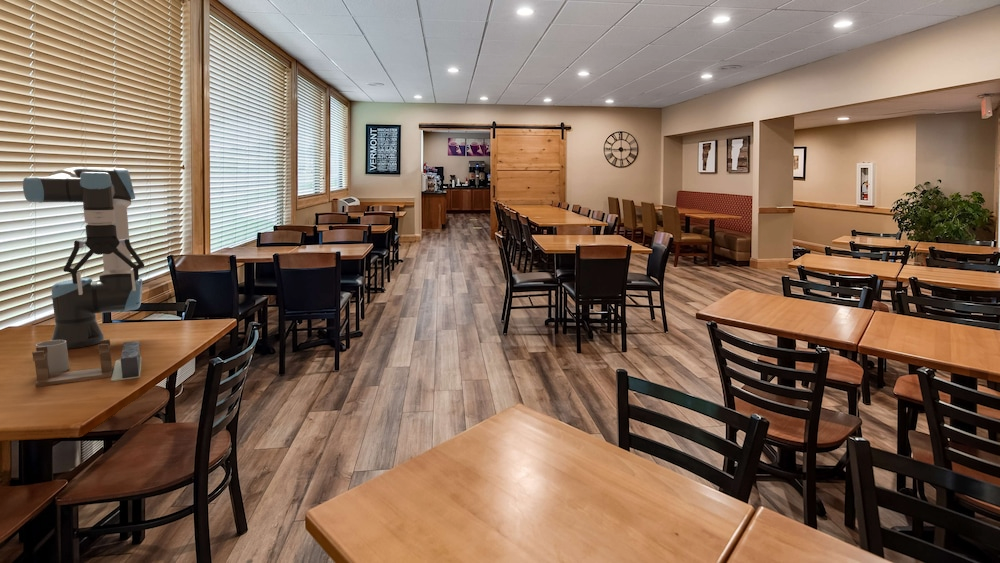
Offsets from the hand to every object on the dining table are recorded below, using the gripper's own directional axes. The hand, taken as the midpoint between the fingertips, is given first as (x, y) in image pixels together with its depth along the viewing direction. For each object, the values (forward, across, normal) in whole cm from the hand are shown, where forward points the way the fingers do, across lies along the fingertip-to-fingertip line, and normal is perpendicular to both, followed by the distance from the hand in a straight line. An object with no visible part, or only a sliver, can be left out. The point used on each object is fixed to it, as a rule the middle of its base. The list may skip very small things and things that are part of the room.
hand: (108, 292), depth 170 cm
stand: (+23, -9, -9) cm, 27 cm away
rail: (+23, +4, -8) cm, 25 cm away
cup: (+24, -16, +3) cm, 29 cm away
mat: (+23, +3, -7) cm, 25 cm away
